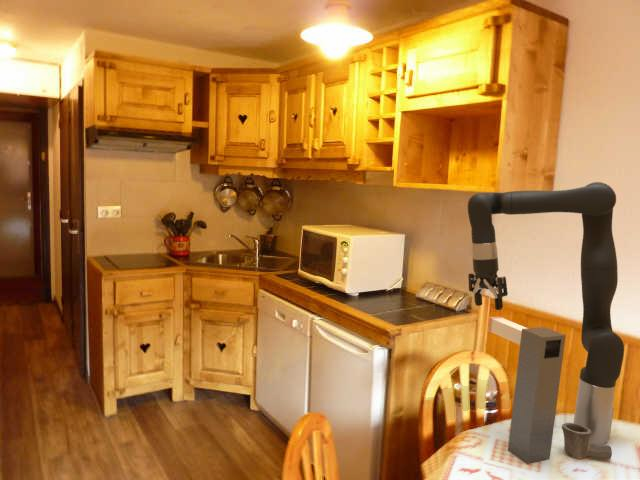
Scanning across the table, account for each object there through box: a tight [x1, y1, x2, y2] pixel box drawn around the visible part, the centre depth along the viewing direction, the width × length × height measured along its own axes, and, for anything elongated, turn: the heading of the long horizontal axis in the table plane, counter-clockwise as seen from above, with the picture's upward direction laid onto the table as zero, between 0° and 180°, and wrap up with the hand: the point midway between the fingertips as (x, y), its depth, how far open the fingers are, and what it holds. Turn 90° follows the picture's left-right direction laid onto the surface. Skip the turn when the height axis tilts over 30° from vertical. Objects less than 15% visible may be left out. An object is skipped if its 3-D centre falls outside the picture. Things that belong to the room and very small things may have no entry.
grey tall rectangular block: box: [507, 326, 566, 465], centre depth 133 cm, size 8×7×35 cm
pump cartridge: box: [487, 316, 528, 346], centre depth 141 cm, size 4×15×4 cm, turn 22°
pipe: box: [561, 422, 613, 460], centre depth 136 cm, size 6×13×8 cm, turn 78°
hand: (488, 307), depth 157 cm, fingers open, 8 cm apart
